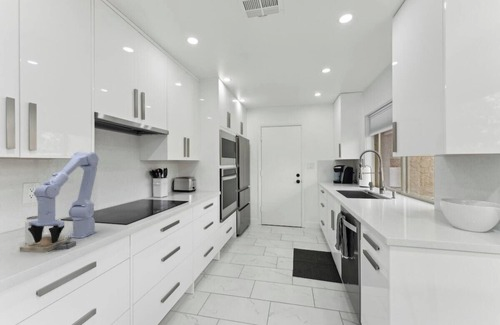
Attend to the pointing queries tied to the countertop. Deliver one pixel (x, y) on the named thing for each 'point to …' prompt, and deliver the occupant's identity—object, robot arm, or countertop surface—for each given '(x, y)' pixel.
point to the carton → (38, 248)
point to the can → (28, 235)
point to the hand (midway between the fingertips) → (46, 242)
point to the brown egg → (46, 241)
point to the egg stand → (66, 245)
